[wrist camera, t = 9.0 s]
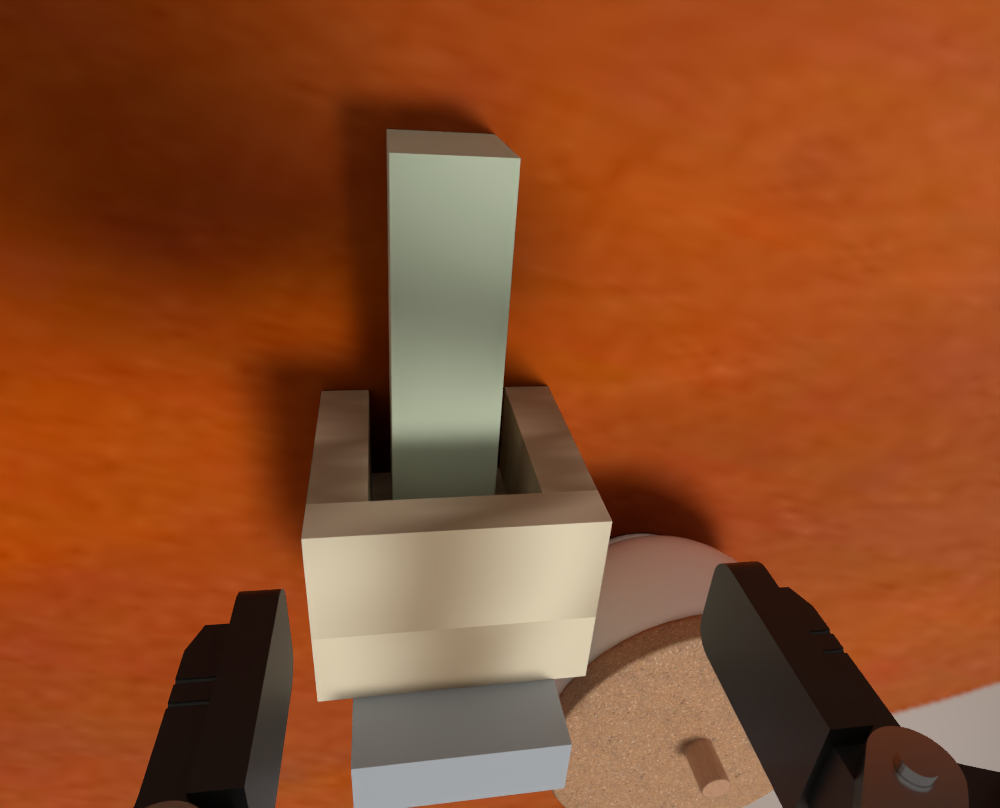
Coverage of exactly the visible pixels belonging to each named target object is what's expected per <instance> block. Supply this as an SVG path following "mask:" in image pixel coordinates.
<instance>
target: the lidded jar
mask: <svg viewBox="0 0 1000 808" xmlns="http://www.w3.org/2000/svg"><path fill="white" fill-rule="evenodd" d="M722 563H738V561H736V560H735V559H733V558H731V557H730V556H728V555H726V554H724V553H723V552H721V551H719V550H717V549H715V548H713V547H711V546H709V545H706V544H703V543H700V542H697V541H693V540H690V539H687V538H682V537H675V536H660V535H655V534H649V533H635V534H626V535H622V536H618V537H614V538H612V539H609V544H608V550H607V555H606V561H605V567H604V573H603V578H602V584H601V590H600V596H599V601H598V607H597V613H596V619H595V624H594V630H593V636H592V642H591V647H590V653H589V659H588V665H587V670H586V676H580V677H569V678H559V679H554V681H555V685H556V688H557V692H558V696H559V699H560V703H561V707H562V710H563V714H564V717H565V721H566V725H567V728H568V732H569V736H570V739H571V743H572V747H571V753H570V759H569V764H568V770H567V776H566V782H565V788H562V789H554V790H552V792H553V794H554V796H555V797H556V798H557V799H558V800H559V801H560V803H561V804H562V805H563V806H564V807H565V808H742V807H744V806H746V805H748V804H750V803H752V802H754V801H755V800H757V799H759V798H761V797H763V796H764V795H766V794H768V793H769V792H771V791H772V790H774V789H773V787H772V785H771V783H770V781H769V779H768V777H767V775H766V773H765V771H764V769H763V767H762V765H761V763H760V761H759V759H758V757H757V755H756V753H755V751H754V749H753V747H752V745H751V743H750V741H749V739H748V737H747V735H746V733H745V731H744V729H743V727H742V725H741V723H740V721H739V719H738V717H737V715H736V713H735V711H734V710H733V708H732V706H731V704H730V702H729V700H728V698H727V696H726V694H725V692H724V690H723V688H722V686H721V684H720V682H719V680H718V678H717V676H716V674H715V672H714V670H713V668H712V666H711V664H710V662H709V660H708V658H707V656H706V654H705V651H704V648H703V645H702V640H701V633H700V624H701V618H702V614H703V611H704V607H705V603H706V599H707V596H708V592H709V588H710V585H711V581H712V577H713V573H714V570H715V568H716V566H717V565H719V564H722Z"/></svg>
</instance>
